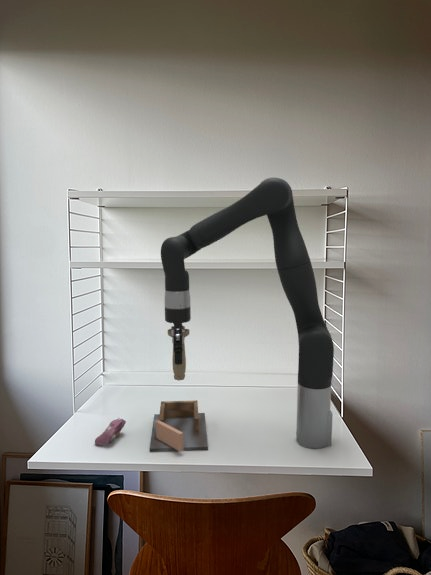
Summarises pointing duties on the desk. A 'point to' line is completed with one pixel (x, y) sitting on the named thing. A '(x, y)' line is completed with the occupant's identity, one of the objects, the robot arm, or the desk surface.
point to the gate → (168, 435)
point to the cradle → (182, 425)
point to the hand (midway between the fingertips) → (178, 361)
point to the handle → (181, 368)
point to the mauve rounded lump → (110, 432)
